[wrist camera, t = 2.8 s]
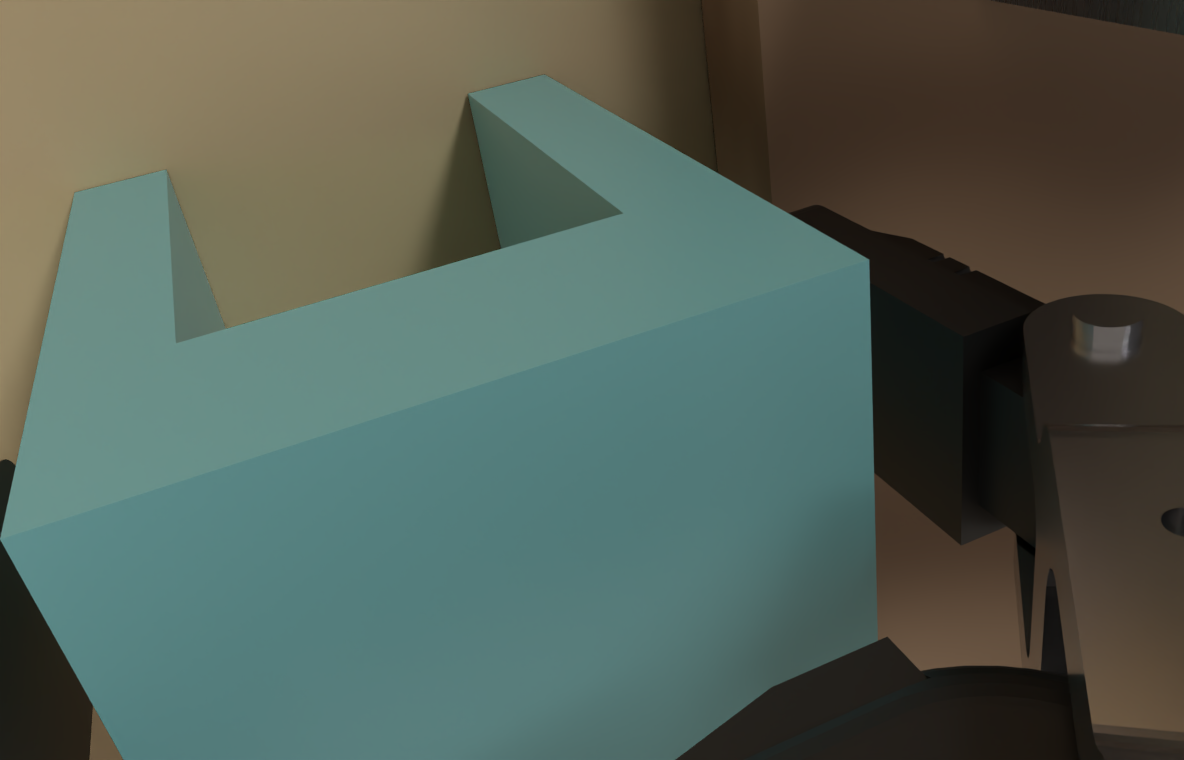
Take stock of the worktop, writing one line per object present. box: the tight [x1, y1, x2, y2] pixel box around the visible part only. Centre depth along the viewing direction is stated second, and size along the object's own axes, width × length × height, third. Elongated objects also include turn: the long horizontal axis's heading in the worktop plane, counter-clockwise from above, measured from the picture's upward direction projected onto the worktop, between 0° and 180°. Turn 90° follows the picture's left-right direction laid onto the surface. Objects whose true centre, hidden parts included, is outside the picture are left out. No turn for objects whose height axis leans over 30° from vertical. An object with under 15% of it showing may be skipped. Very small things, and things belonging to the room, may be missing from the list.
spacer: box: [0, 74, 878, 760], centre depth 10 cm, size 4×6×7 cm
